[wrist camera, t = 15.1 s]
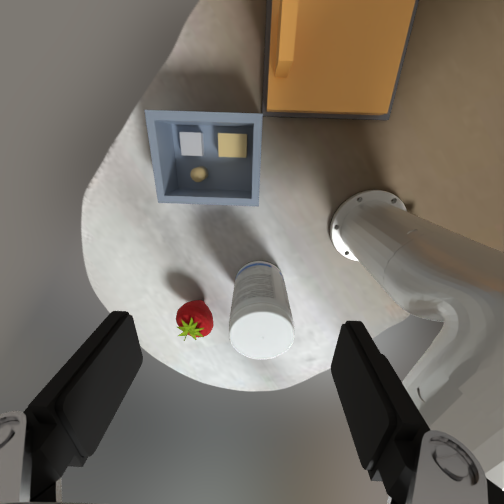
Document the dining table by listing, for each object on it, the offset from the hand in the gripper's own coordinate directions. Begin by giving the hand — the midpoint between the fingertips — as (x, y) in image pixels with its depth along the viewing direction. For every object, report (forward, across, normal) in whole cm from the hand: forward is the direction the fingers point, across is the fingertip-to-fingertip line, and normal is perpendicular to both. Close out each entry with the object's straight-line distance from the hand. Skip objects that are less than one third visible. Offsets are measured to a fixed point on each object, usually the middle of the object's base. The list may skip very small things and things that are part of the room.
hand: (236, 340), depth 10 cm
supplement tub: (+31, -2, +16) cm, 34 cm away
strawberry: (+31, +10, +22) cm, 39 cm away
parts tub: (+30, +6, -6) cm, 31 cm away
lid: (+30, -10, -19) cm, 37 cm away
